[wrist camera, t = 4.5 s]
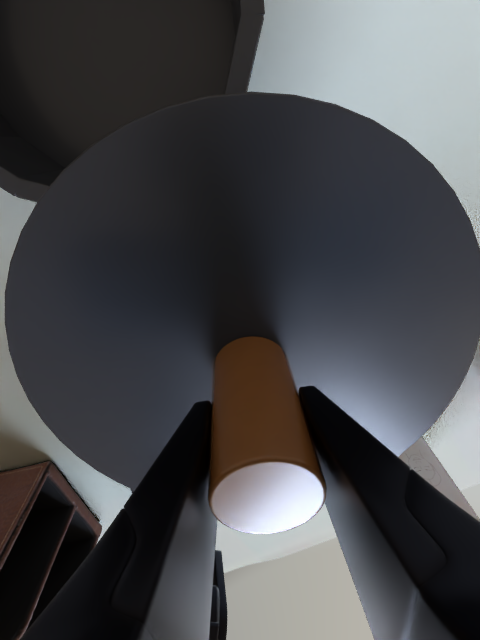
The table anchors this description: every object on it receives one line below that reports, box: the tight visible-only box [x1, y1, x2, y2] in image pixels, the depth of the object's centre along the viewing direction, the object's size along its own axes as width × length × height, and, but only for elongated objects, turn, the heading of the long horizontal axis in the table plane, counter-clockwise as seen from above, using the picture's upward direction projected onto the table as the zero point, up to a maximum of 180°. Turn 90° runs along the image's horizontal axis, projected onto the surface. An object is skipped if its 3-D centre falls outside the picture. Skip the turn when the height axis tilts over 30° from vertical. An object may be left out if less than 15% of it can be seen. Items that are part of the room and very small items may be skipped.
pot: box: [0, 0, 265, 202], centre depth 13 cm, size 14×14×5 cm
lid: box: [5, 92, 480, 534], centre depth 9 cm, size 15×15×6 cm
